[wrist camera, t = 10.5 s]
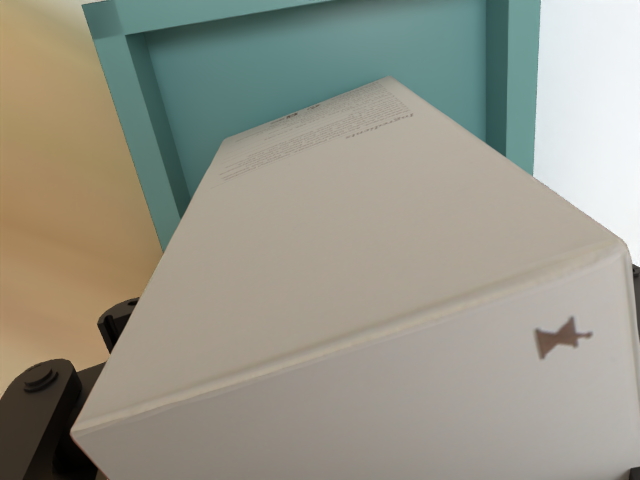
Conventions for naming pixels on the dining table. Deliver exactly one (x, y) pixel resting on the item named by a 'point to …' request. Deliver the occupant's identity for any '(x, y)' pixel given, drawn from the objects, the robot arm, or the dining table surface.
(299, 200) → the small box
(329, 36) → the tray
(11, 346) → the dining table surface
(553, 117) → the dining table surface
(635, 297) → the robot arm
